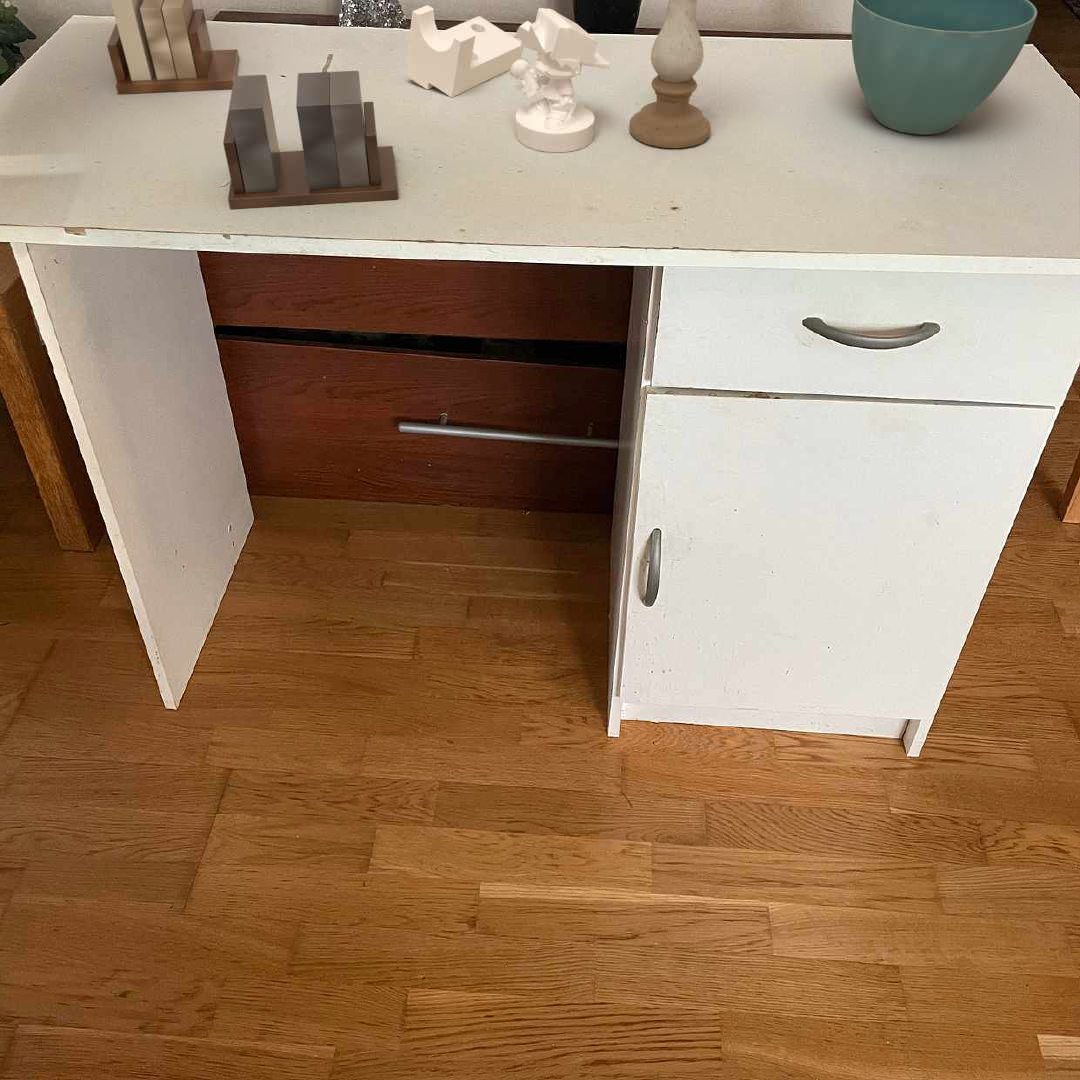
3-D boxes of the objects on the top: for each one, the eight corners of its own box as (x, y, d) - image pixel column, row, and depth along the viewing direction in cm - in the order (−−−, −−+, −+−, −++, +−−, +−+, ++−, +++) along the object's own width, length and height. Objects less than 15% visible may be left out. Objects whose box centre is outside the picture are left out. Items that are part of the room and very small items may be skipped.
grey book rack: (230, 209, 97) (209, 114, 90) (236, 163, 104) (217, 72, 97) (398, 199, 98) (389, 105, 92) (393, 155, 105) (385, 65, 99)
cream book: (131, 81, 116) (95, -56, 106) (140, 55, 122) (106, -77, 112) (151, 80, 116) (117, -57, 107) (159, 55, 122) (127, -77, 112)
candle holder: (705, 117, 113) (732, -92, 99) (713, 150, 107) (743, -67, 93) (627, 115, 113) (642, -94, 99) (630, 148, 107) (647, -69, 93)
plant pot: (802, 125, 112) (825, 5, 103) (870, 76, 122) (896, -36, 114) (962, 170, 104) (1001, 45, 96) (1020, 114, 115) (1060, -3, 106)
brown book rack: (118, 94, 116) (95, 13, 110) (129, 62, 123) (109, -16, 117) (233, 89, 118) (218, 9, 111) (239, 57, 125) (224, -19, 118)
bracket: (450, 105, 117) (460, 42, 111) (404, 74, 119) (412, 11, 113) (518, 71, 125) (531, 11, 119) (474, 43, 126) (485, -18, 120)
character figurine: (504, 124, 111) (502, 6, 103) (583, 112, 114) (588, -4, 105) (532, 157, 105) (533, 35, 97) (615, 144, 108) (623, 23, 100)
